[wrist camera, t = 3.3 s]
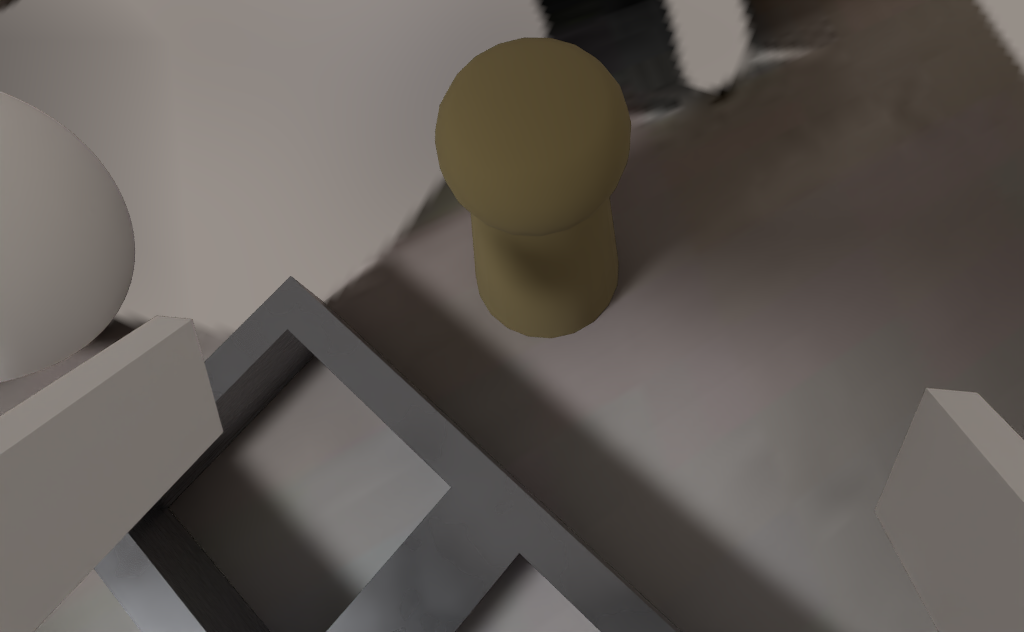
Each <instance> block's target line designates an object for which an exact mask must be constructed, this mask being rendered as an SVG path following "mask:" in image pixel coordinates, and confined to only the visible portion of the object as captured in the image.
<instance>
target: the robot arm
mask: <svg viewBox="0 0 1024 632" xmlns="http://www.w3.org/2000/svg"><path fill="white" fill-rule="evenodd" d="M222 433H223V429H222V425H221V421H220V418H219V414H218V410H217V407H216V403H215V400H214V396H213V392H212V389H211V385H210V381H209V378H208V374H207V370H206V367H205V363H204V359H203V356H202V352H201V348H200V345H199V341H198V338H197V334H196V330H195V327H194V323H193V319H186V318H176V317H165V316H156V317H154V318H152V319H151V320H149V321H148V322H146V323H145V324H143V325H142V326H140V327H138V328H137V329H135V330H134V331H132V332H131V333H129V334H128V335H126V336H124V337H123V338H121V339H120V340H118V341H117V342H115V343H114V344H112V345H110V346H109V347H107V348H106V349H104V350H103V351H101V352H100V353H98V354H96V355H95V356H93V357H92V358H90V359H89V360H87V361H86V362H84V363H82V364H81V365H79V366H78V367H76V368H75V369H73V370H72V371H70V372H68V373H67V374H65V375H64V376H62V377H61V378H59V379H58V380H56V381H54V382H53V383H51V384H50V385H48V386H47V387H45V388H44V389H42V390H40V391H39V392H37V393H36V394H34V395H33V396H31V397H30V398H28V399H26V400H25V401H23V402H22V403H20V404H19V405H17V406H16V407H14V408H12V409H11V410H9V411H8V412H6V413H5V414H3V415H2V416H0V632H34V630H35V629H36V628H37V627H38V626H39V625H40V624H41V623H42V622H43V621H44V620H45V619H46V618H47V617H48V616H49V615H50V614H51V613H52V612H53V611H54V609H55V608H56V607H57V606H58V605H59V604H60V603H61V602H62V601H63V600H64V599H65V598H66V597H67V596H68V595H69V594H70V593H71V592H72V591H73V590H74V588H75V587H76V586H77V585H78V584H79V583H80V582H81V581H82V580H83V579H84V578H85V577H86V576H87V575H88V574H89V573H90V572H91V571H92V570H93V568H94V567H95V566H96V565H97V564H98V563H99V562H100V561H101V560H102V559H103V558H104V557H105V556H106V555H107V554H108V553H109V552H110V551H111V550H112V549H113V547H114V546H115V545H116V544H117V543H118V542H119V541H120V540H121V539H122V538H123V537H124V536H125V535H126V534H127V533H128V532H129V531H130V530H131V529H132V528H133V526H134V525H135V524H136V523H137V522H138V521H139V520H140V519H141V518H142V517H143V516H144V515H145V514H146V513H147V512H148V511H149V510H150V509H151V508H152V507H153V505H154V504H155V503H156V502H157V501H158V500H159V499H160V498H161V497H162V496H163V495H164V494H165V493H166V492H167V491H168V490H169V489H170V488H171V487H172V486H173V484H174V483H175V482H176V481H177V480H178V479H179V478H180V477H181V476H182V475H183V474H184V473H185V472H186V471H187V470H188V469H189V468H190V467H191V466H192V465H193V463H194V462H195V461H196V460H197V459H198V458H199V457H200V456H201V455H202V454H203V453H204V452H205V451H206V450H207V449H208V448H209V447H210V446H211V445H212V444H213V442H214V441H215V440H216V439H217V438H218V437H219V436H220V435H221V434H222ZM875 513H876V515H877V517H878V519H879V521H880V523H881V525H882V527H883V528H884V530H885V532H886V534H887V536H888V538H889V540H890V542H891V543H892V545H893V547H894V549H895V551H896V553H897V555H898V557H899V559H900V560H901V562H902V564H903V566H904V568H905V570H906V572H907V574H908V575H909V577H910V579H911V581H912V583H913V585H914V587H915V589H916V590H917V592H918V594H919V596H920V598H921V600H922V602H923V604H924V606H925V607H926V609H927V611H928V613H929V615H930V617H931V619H932V621H933V622H934V624H935V626H936V628H937V630H938V632H1024V440H1023V439H1022V438H1021V437H1020V436H1019V435H1018V434H1017V433H1016V432H1015V431H1014V430H1013V429H1012V428H1011V427H1010V426H1009V425H1008V423H1007V422H1006V421H1005V420H1004V419H1003V418H1002V417H1001V416H1000V415H999V414H998V413H997V412H996V411H995V410H994V409H993V408H992V407H991V406H990V405H989V404H988V403H987V402H986V401H985V400H984V399H983V398H982V397H981V396H980V395H979V394H978V393H975V392H964V391H954V390H943V389H932V388H926V389H925V392H924V394H923V396H922V399H921V401H920V403H919V406H918V408H917V411H916V413H915V415H914V418H913V420H912V423H911V425H910V427H909V430H908V432H907V434H906V437H905V439H904V442H903V444H902V446H901V449H900V451H899V454H898V456H897V458H896V461H895V463H894V465H893V468H892V470H891V473H890V475H889V477H888V480H887V482H886V485H885V487H884V489H883V492H882V494H881V497H880V499H879V501H878V504H877V506H876V508H875Z"/></svg>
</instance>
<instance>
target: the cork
mask: <svg viewBox="0 0 1024 632" xmlns="http://www.w3.org/2000/svg"><path fill="white" fill-rule="evenodd" d="M630 133H631V121H630V117H629V113H628V109H627V106H626V103H625V100H624V97H623V94H622V91H621V88H620V85H619V84H618V83H617V82H616V80H615V79H614V78H613V77H612V75H611V74H610V73H609V72H608V70H607V69H606V68H605V67H604V65H603V64H602V63H601V62H599V61H598V60H597V59H596V58H595V57H593V56H592V55H590V54H589V53H587V52H585V51H584V50H582V49H581V48H579V47H578V46H576V45H573V44H570V43H566V42H563V41H559V40H556V39H552V38H521V39H517V40H513V41H509V42H505V43H501V44H498V45H496V46H494V47H492V48H490V49H488V50H486V51H485V52H483V53H481V54H479V55H477V56H476V57H474V58H473V59H472V60H471V61H470V62H469V63H468V64H467V65H466V66H465V67H464V68H463V69H462V70H461V71H460V72H459V73H458V74H457V76H456V77H455V79H454V80H453V82H452V84H451V86H450V87H449V89H448V91H447V93H446V95H445V96H444V99H443V100H442V102H441V104H440V107H439V113H438V118H437V124H436V131H435V144H436V150H437V154H438V160H439V165H440V169H441V172H442V174H443V176H444V179H445V181H446V182H447V184H448V186H449V187H450V189H451V190H452V192H453V194H454V195H455V197H456V199H457V200H458V202H459V203H460V204H461V205H462V206H463V207H465V208H466V209H467V210H468V211H469V212H471V222H472V234H473V247H474V259H475V272H476V279H477V284H478V289H479V294H480V297H481V298H482V300H483V302H484V303H485V305H486V307H487V308H488V310H489V312H490V313H491V314H492V315H493V316H494V317H495V318H496V319H498V320H499V321H500V322H501V323H502V324H503V325H505V326H506V327H507V328H509V329H511V330H514V331H516V332H519V333H521V334H524V335H526V336H530V337H543V338H554V337H559V336H563V335H568V334H572V333H575V332H577V331H578V330H580V329H582V328H584V327H585V326H587V325H589V324H590V323H592V322H594V321H595V320H596V319H597V317H598V316H599V315H600V314H601V313H602V312H603V311H604V310H605V308H606V307H607V306H608V305H609V303H610V301H611V299H612V296H613V294H614V291H615V289H616V287H617V282H618V265H619V263H618V255H617V248H616V241H615V233H614V226H613V219H612V211H611V204H610V196H611V194H612V193H613V191H614V190H615V189H616V187H617V185H618V182H619V180H620V178H621V175H622V173H623V171H624V169H625V166H626V164H627V161H628V156H629V150H630Z"/></svg>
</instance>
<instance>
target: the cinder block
mask: <svg viewBox="0 0 1024 632" xmlns="http://www.w3.org/2000/svg"><path fill="white" fill-rule="evenodd" d="M314 356H316V357H317V358H318V359H319V360H320V361H321V362H322V363H323V364H324V365H325V366H326V367H327V368H328V369H329V370H330V371H331V372H332V373H333V374H334V375H336V376H337V377H338V378H339V379H340V380H341V381H342V382H343V383H344V384H345V385H346V386H347V387H348V388H349V389H350V390H351V391H352V392H353V393H354V394H355V395H356V396H357V397H358V398H359V399H360V400H361V401H362V402H364V403H365V404H366V405H367V406H368V407H369V408H370V409H371V410H372V411H373V412H374V413H375V414H376V415H377V416H378V417H379V418H380V419H381V420H382V421H383V422H384V423H385V424H386V425H387V426H388V427H389V428H390V429H391V430H393V431H394V432H395V433H396V434H397V435H398V436H399V437H400V438H401V439H402V440H403V441H404V442H405V443H406V444H407V445H408V446H409V447H410V448H411V449H412V450H413V451H414V452H415V453H416V454H417V455H418V456H419V457H420V458H422V459H423V460H424V461H425V462H426V463H427V464H428V465H429V466H430V467H431V468H432V469H433V470H434V471H435V472H436V473H437V474H438V475H439V476H440V477H441V478H442V479H443V480H444V481H445V482H446V483H447V484H448V485H449V486H451V488H450V489H449V490H448V492H447V493H446V494H445V495H444V496H443V497H442V499H441V500H440V501H439V502H438V503H437V504H436V505H435V507H434V508H433V509H432V510H431V511H430V512H429V514H428V515H427V516H426V517H425V518H424V519H423V521H422V522H421V523H420V524H419V525H418V526H417V527H416V529H415V530H414V531H413V532H412V533H411V534H410V536H409V537H408V538H407V539H406V540H405V541H404V542H403V544H402V545H401V546H400V547H399V548H398V549H397V551H396V552H395V553H394V554H393V555H392V556H391V557H390V559H389V560H388V561H387V562H386V563H385V564H384V566H383V567H382V568H381V569H380V570H379V571H378V572H377V574H376V575H375V576H374V577H373V578H372V579H371V581H370V582H369V583H368V584H367V585H366V586H365V587H364V589H363V590H362V591H361V592H360V593H359V594H358V596H357V597H356V598H355V599H354V600H353V601H352V602H351V604H350V605H349V606H348V607H347V608H346V609H345V611H344V612H343V613H342V614H341V615H340V616H339V617H338V619H337V620H336V621H335V622H334V623H333V624H332V626H331V627H330V628H329V629H328V630H327V631H326V632H455V631H456V630H457V629H458V628H459V627H460V625H461V624H462V623H463V622H464V620H465V619H466V618H467V617H468V616H469V614H470V613H471V612H472V611H473V609H474V608H475V607H476V606H477V605H478V603H479V602H480V601H481V600H482V598H483V597H484V596H485V595H486V594H487V592H488V591H489V590H490V589H491V588H492V586H493V585H494V584H495V583H496V581H497V580H498V579H499V578H500V577H501V575H502V574H503V573H504V572H505V570H506V569H507V568H508V567H509V566H510V564H511V563H512V562H513V561H514V560H515V558H516V557H517V556H518V555H519V553H520V554H521V555H522V556H523V557H524V558H525V559H526V560H527V561H528V562H529V563H530V564H531V565H532V566H533V567H534V568H535V569H537V570H538V571H539V572H540V573H541V574H542V575H543V576H544V577H545V578H546V579H547V580H548V581H549V582H550V583H551V584H552V585H553V586H554V587H555V588H556V589H557V590H558V591H559V592H560V593H561V594H562V595H563V596H564V597H566V598H567V599H568V600H569V601H570V602H571V603H572V604H573V605H574V606H575V607H576V608H577V609H578V610H579V611H580V612H581V613H582V614H583V615H584V616H585V617H586V618H587V619H588V620H589V621H590V622H591V623H592V624H593V625H595V626H596V627H597V628H598V629H599V630H600V631H601V632H682V631H681V630H679V629H678V628H677V627H676V626H675V625H674V624H673V623H672V622H671V621H670V620H669V619H667V618H666V617H665V616H664V615H663V614H662V613H661V612H660V611H659V610H658V609H657V608H656V607H654V606H653V605H652V604H651V603H650V602H649V601H648V600H647V599H646V598H645V597H644V596H642V595H641V594H640V593H639V592H638V591H637V590H636V589H635V588H634V587H633V586H632V585H631V584H629V583H628V582H627V581H626V580H625V579H624V578H623V577H622V576H621V575H620V574H619V573H617V572H616V571H615V570H614V569H613V568H612V567H611V566H610V565H609V564H608V563H607V562H606V561H604V560H603V559H602V558H601V557H600V556H599V555H598V554H597V553H596V552H595V551H594V550H593V549H591V548H590V547H589V546H588V545H587V544H586V543H585V542H584V541H583V540H582V539H581V538H579V537H578V536H577V535H576V534H575V533H574V532H573V531H572V530H571V529H570V528H569V527H568V526H566V525H565V524H564V523H563V522H562V521H561V520H560V519H559V518H558V517H557V516H556V515H554V514H553V513H552V512H551V511H550V510H549V509H548V508H547V507H546V506H545V505H544V504H543V503H541V502H540V501H539V500H538V499H537V498H536V497H535V496H534V495H533V494H532V493H531V492H529V491H528V490H527V489H526V488H525V487H524V486H523V485H522V484H521V483H520V482H519V481H518V480H516V479H515V478H514V477H513V476H512V475H511V474H510V473H509V472H508V471H507V470H506V469H504V468H503V467H502V466H501V465H500V464H499V463H498V462H497V461H496V460H495V459H494V458H493V457H491V456H490V455H489V454H488V453H487V452H486V451H485V450H484V449H483V448H482V447H481V446H480V445H478V444H477V443H476V442H475V441H474V440H473V439H472V438H471V437H470V436H469V435H468V434H466V433H465V432H464V431H463V430H462V429H461V428H460V427H459V426H458V425H457V424H456V423H455V422H453V421H452V420H451V419H450V418H449V417H448V416H447V415H446V414H445V413H444V412H443V411H441V410H440V409H439V408H438V407H437V406H436V405H435V404H434V403H433V402H432V401H431V400H430V399H428V398H427V397H426V396H425V395H424V394H423V393H422V392H421V391H420V390H419V389H418V388H416V387H415V386H414V385H413V384H412V383H411V382H410V381H409V380H408V379H407V378H406V377H405V376H403V375H402V374H401V373H400V372H399V371H398V370H397V369H396V368H395V367H394V366H393V365H392V364H390V363H389V362H388V361H387V360H386V359H385V358H384V357H383V356H382V355H381V354H380V353H378V352H377V351H376V350H375V349H374V348H373V347H372V346H371V345H370V344H369V343H368V342H367V341H365V340H364V339H363V338H362V337H361V336H360V335H359V334H358V333H357V332H356V331H355V330H353V329H352V328H351V327H350V326H349V325H348V324H347V323H346V322H345V321H344V320H343V319H342V318H340V317H339V316H338V315H337V314H336V313H335V312H334V311H333V310H332V309H331V308H330V307H328V306H327V305H326V304H325V303H324V302H323V301H322V300H321V299H319V298H318V297H317V296H315V295H314V294H313V293H312V292H310V291H309V290H308V289H306V288H305V287H304V286H303V285H302V284H300V283H299V282H298V281H297V280H295V279H294V278H293V277H291V276H290V277H289V278H288V279H287V280H286V281H285V282H284V283H283V284H282V285H281V286H280V287H279V288H278V289H277V290H276V291H275V292H274V293H273V294H272V295H271V296H270V297H269V298H268V299H267V300H266V301H265V302H264V303H263V304H262V305H261V306H260V307H259V308H258V309H257V310H256V311H255V312H254V313H253V314H252V315H251V316H250V317H249V318H248V319H247V320H246V321H245V322H244V323H243V324H242V325H241V326H240V327H239V328H238V329H237V330H236V331H235V332H234V333H233V334H232V335H231V336H230V337H229V338H228V339H227V340H226V341H225V342H224V343H223V344H222V345H221V346H220V347H219V348H218V349H217V350H216V351H215V352H214V353H213V354H212V355H211V356H210V357H209V358H208V359H207V360H206V361H205V362H204V363H205V367H206V370H207V374H208V378H209V381H210V385H211V389H212V392H213V396H214V400H215V403H216V407H217V410H218V414H219V418H220V421H221V425H222V429H223V433H222V434H221V435H220V436H219V437H218V438H217V439H216V440H215V441H214V442H213V444H212V445H211V446H210V447H209V448H208V449H207V450H206V451H205V452H204V453H203V454H202V455H201V456H200V457H199V458H198V459H197V460H196V461H195V462H194V463H193V465H192V466H191V467H190V468H189V469H188V470H187V471H186V472H185V473H184V474H183V475H182V476H181V477H180V478H179V479H178V480H177V481H176V482H175V483H174V484H173V486H172V487H171V488H170V489H169V490H168V491H167V492H166V493H165V494H164V495H163V496H162V497H161V498H160V499H159V500H158V501H157V502H156V503H155V504H154V505H153V507H152V508H151V509H150V510H149V511H148V512H147V513H146V514H145V515H144V516H143V517H142V518H141V519H140V520H139V521H138V522H137V523H136V524H135V525H134V526H133V528H132V529H131V530H130V531H129V532H128V533H127V534H126V535H125V536H124V537H123V538H122V539H121V540H120V541H119V542H118V543H117V544H116V545H115V546H114V547H113V549H112V550H111V551H110V552H109V553H108V554H107V555H106V556H105V557H104V558H103V559H102V560H101V561H100V562H99V563H98V564H97V565H96V566H95V567H94V569H95V571H96V572H97V573H98V575H99V576H100V577H101V579H102V580H103V581H104V583H105V584H106V586H107V587H108V588H109V590H110V591H111V592H112V594H113V595H114V596H115V598H116V599H117V600H118V602H119V603H120V604H121V606H122V607H123V608H124V610H125V611H126V612H127V614H128V615H129V616H130V618H131V619H132V620H133V622H134V623H135V624H136V626H137V627H138V628H139V630H140V631H141V632H270V631H269V630H268V629H267V627H266V626H265V625H264V624H263V623H262V621H261V620H260V619H259V618H258V617H257V615H256V614H255V613H254V612H253V611H252V609H251V608H250V607H249V606H248V605H247V603H246V602H245V601H244V600H243V598H242V597H241V596H240V595H239V594H238V592H237V591H236V590H235V589H234V588H233V586H232V585H231V584H230V583H229V582H228V580H227V579H226V578H225V577H224V576H223V574H222V573H221V572H220V571H219V570H218V568H217V567H216V566H215V565H214V564H213V562H212V561H211V560H210V559H209V557H208V556H207V555H206V554H205V553H204V551H203V550H202V549H201V548H200V547H199V545H198V544H197V543H196V542H195V541H194V539H193V538H192V537H191V536H190V535H189V533H188V532H187V531H186V530H185V529H184V527H183V526H182V525H181V524H180V523H179V521H178V520H177V519H176V518H175V516H174V515H173V514H172V513H171V512H170V510H169V509H168V507H169V506H170V505H171V504H172V503H173V502H174V501H175V500H176V499H177V498H178V497H179V496H180V495H181V494H182V493H183V492H184V491H185V489H186V488H187V487H188V486H189V485H190V484H191V483H192V482H193V481H194V480H195V479H196V478H197V477H198V476H199V475H200V474H201V473H202V472H203V471H204V470H205V469H206V468H207V467H208V466H209V465H210V464H211V462H212V461H213V460H214V459H215V458H216V457H217V456H218V455H219V454H220V453H221V452H222V451H223V450H224V449H225V448H226V447H227V446H228V445H229V444H230V443H231V442H232V441H233V440H234V439H235V438H236V437H237V435H238V434H239V433H240V432H241V431H242V430H243V429H244V428H245V427H246V426H247V425H248V424H249V423H250V422H251V421H252V420H253V419H254V418H255V417H256V416H257V415H258V414H259V413H260V412H261V411H262V410H263V409H264V407H265V406H266V405H267V404H268V403H269V402H270V401H271V400H272V399H273V398H274V397H275V396H276V395H277V394H278V393H279V392H280V391H281V390H282V389H283V388H284V387H285V386H286V385H287V384H288V383H289V382H290V380H291V379H292V378H293V377H294V376H295V375H296V374H297V373H298V372H299V371H300V370H301V369H302V368H303V367H304V366H305V365H306V364H307V363H308V362H309V361H310V360H311V359H312V358H313V357H314Z"/></svg>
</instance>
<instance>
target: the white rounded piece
mask: <svg viewBox="0 0 1024 632" xmlns="http://www.w3.org/2000/svg"><path fill="white" fill-rule="evenodd" d="M134 262H135V243H134V234H133V229H132V223H131V220H130V216H129V213H128V210H127V207H126V204H125V202H124V200H123V197H122V195H121V193H120V191H119V189H118V187H117V185H116V184H115V182H114V180H113V179H112V177H111V176H110V174H109V172H108V171H107V170H106V168H105V167H104V166H103V164H102V163H101V162H100V160H99V159H98V158H97V157H96V156H95V155H94V153H93V152H92V151H91V150H90V149H89V148H88V147H87V146H86V145H85V144H84V143H83V142H82V141H81V140H80V139H79V138H78V137H77V136H75V135H74V134H73V133H72V132H71V131H70V130H68V129H67V128H66V127H64V126H63V125H62V124H60V123H59V122H58V121H56V120H55V119H53V118H52V117H51V116H49V115H47V114H46V113H44V112H42V111H41V110H39V109H37V108H36V107H34V106H32V105H30V104H28V103H26V102H24V101H22V100H20V99H18V98H16V97H13V96H11V95H9V94H6V93H4V92H1V91H0V382H4V381H8V380H12V379H16V378H20V377H23V376H26V375H29V374H32V373H35V372H38V371H41V370H43V369H45V368H48V367H50V366H52V365H54V364H57V363H59V362H61V361H63V360H64V359H66V358H68V357H70V356H71V355H73V354H75V353H76V352H78V351H79V350H81V349H82V348H84V347H85V346H86V345H88V344H89V343H90V342H91V341H93V340H94V339H95V338H96V337H97V336H98V335H99V334H100V333H101V332H102V331H103V330H104V329H105V328H106V327H107V326H108V324H109V323H110V322H111V321H112V319H113V318H114V317H115V315H116V314H117V312H118V311H119V309H120V307H121V305H122V303H123V301H124V299H125V297H126V295H127V292H128V289H129V286H130V283H131V280H132V275H133V270H134Z"/></svg>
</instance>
